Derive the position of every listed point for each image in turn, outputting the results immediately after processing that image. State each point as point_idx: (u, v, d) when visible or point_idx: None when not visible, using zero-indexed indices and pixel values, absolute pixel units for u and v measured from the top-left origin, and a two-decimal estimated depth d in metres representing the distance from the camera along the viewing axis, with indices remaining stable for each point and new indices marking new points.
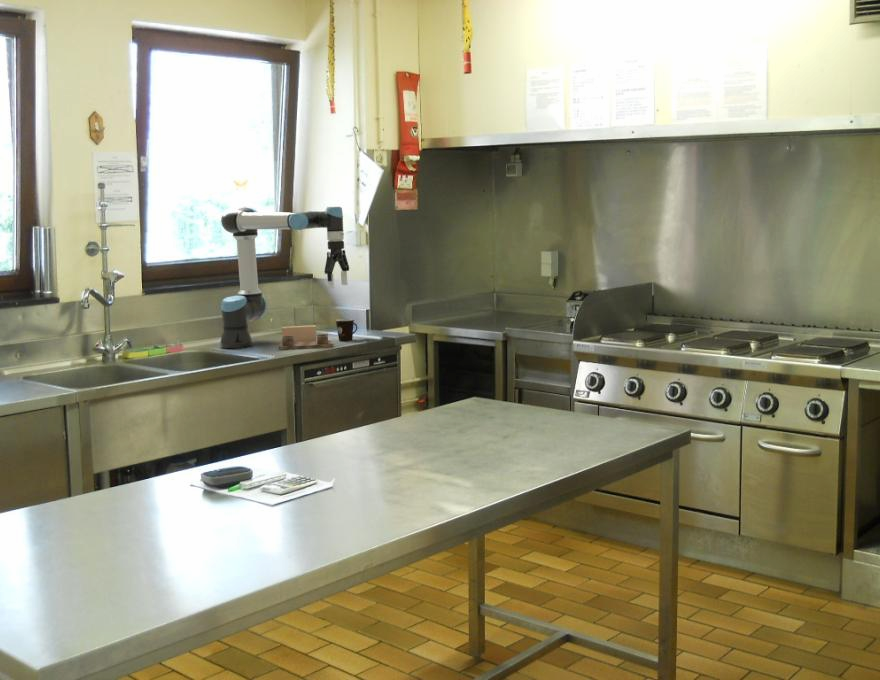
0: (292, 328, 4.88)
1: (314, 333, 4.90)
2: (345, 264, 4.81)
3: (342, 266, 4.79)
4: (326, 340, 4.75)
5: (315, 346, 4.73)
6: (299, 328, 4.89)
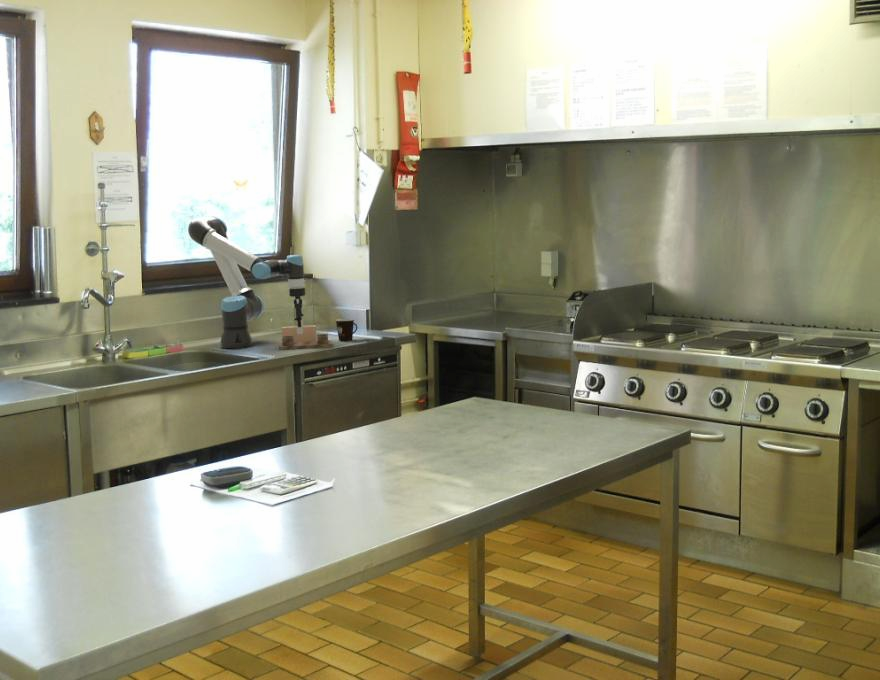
0: (292, 328, 4.88)
1: (314, 333, 4.90)
2: None
3: None
4: (326, 340, 4.75)
5: (315, 346, 4.73)
6: None
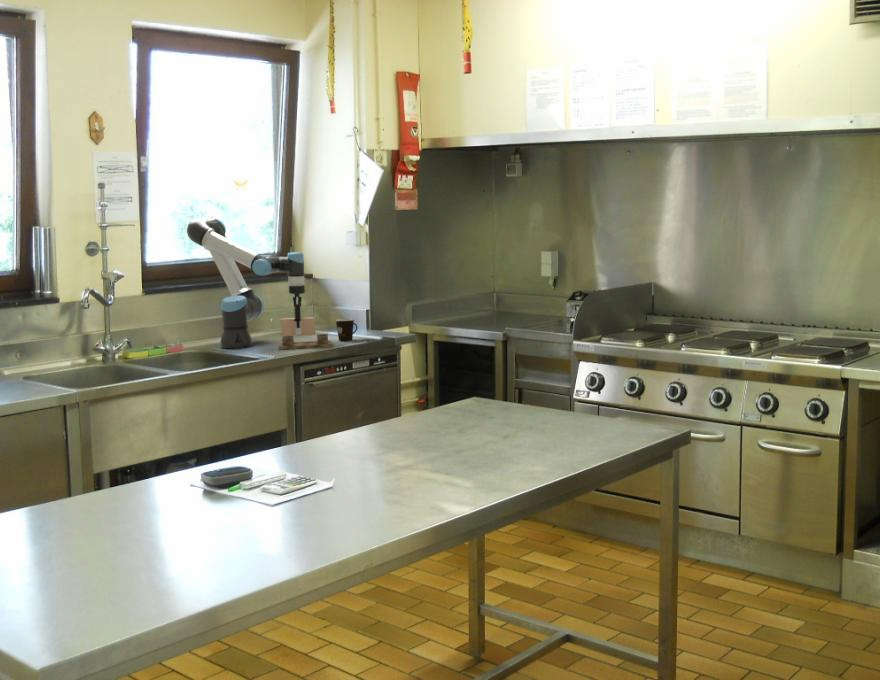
0: (291, 320, 4.88)
1: (313, 325, 4.89)
2: None
3: None
4: (326, 340, 4.75)
5: (315, 346, 4.73)
6: None
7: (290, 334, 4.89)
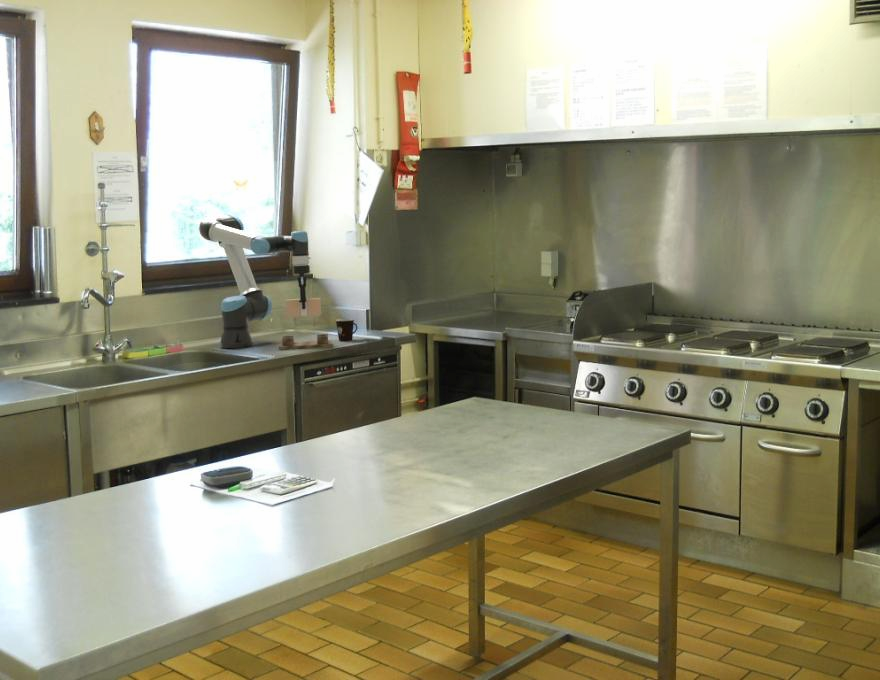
0: (296, 301, 4.74)
1: (319, 306, 4.76)
2: None
3: None
4: (326, 340, 4.75)
5: (315, 346, 4.73)
6: None
7: (296, 315, 4.75)
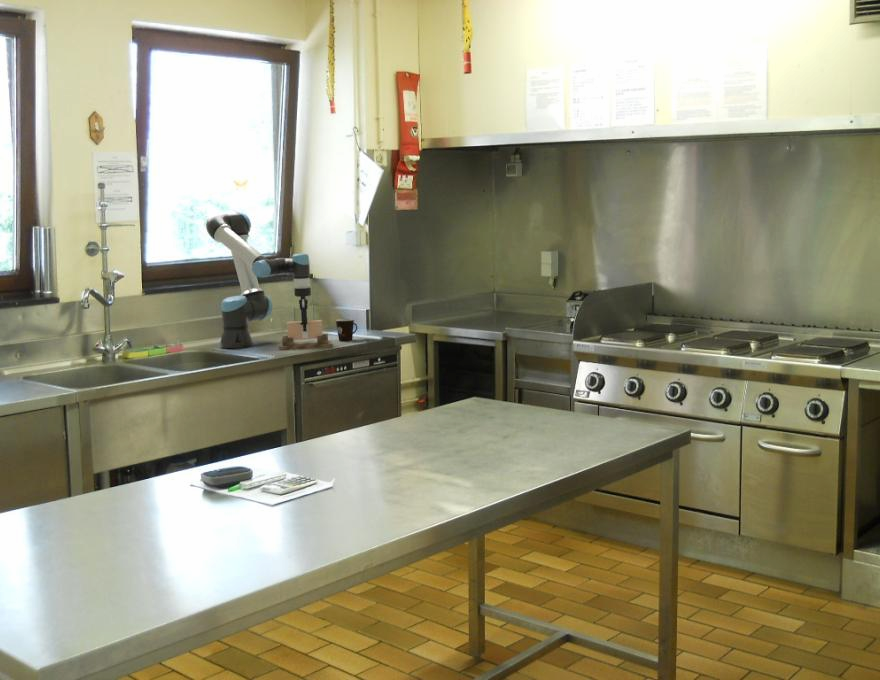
0: (297, 323, 4.75)
1: (320, 328, 4.77)
2: None
3: None
4: (326, 340, 4.75)
5: (315, 346, 4.73)
6: None
7: (297, 337, 4.76)
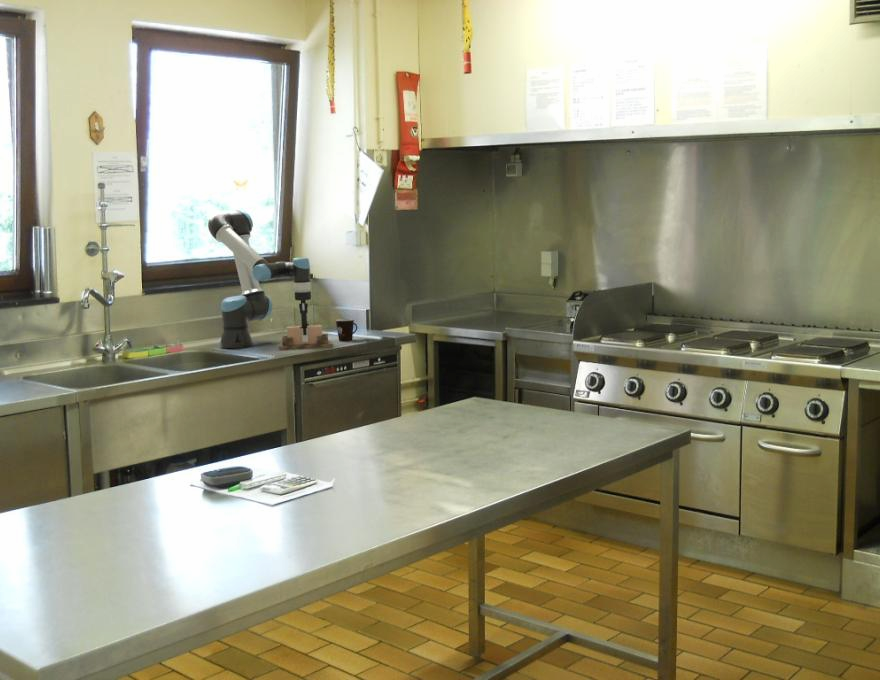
0: (297, 328, 4.75)
1: (320, 333, 4.77)
2: None
3: None
4: (326, 340, 4.75)
5: (315, 346, 4.73)
6: None
7: (297, 342, 4.76)
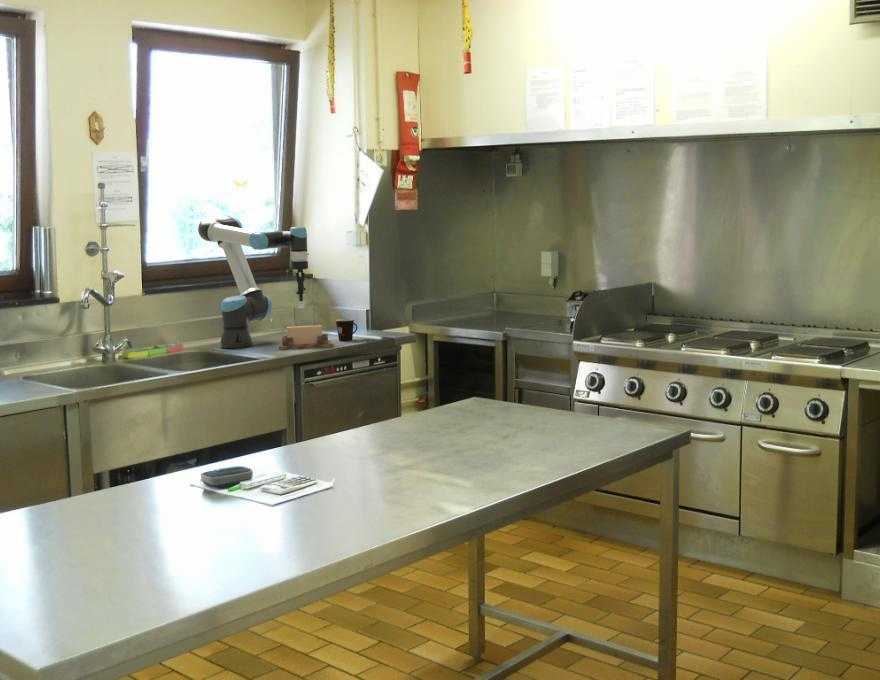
0: (297, 328, 4.75)
1: (320, 333, 4.77)
2: None
3: None
4: (326, 340, 4.75)
5: (315, 346, 4.73)
6: (304, 328, 4.76)
7: (297, 342, 4.76)
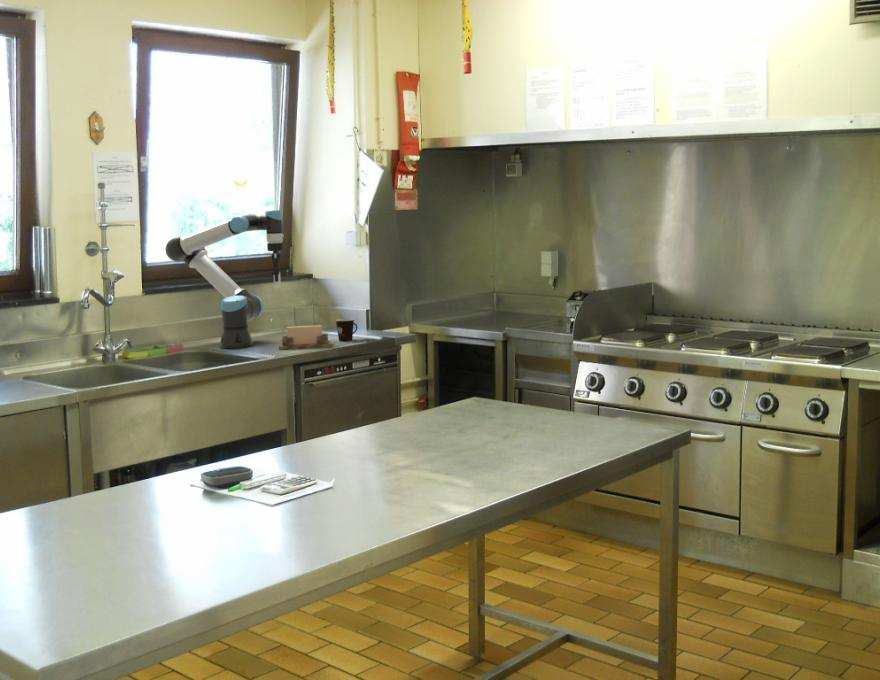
0: (297, 328, 4.75)
1: (320, 333, 4.77)
2: None
3: None
4: (326, 340, 4.75)
5: (315, 346, 4.73)
6: (304, 328, 4.76)
7: (297, 342, 4.76)
